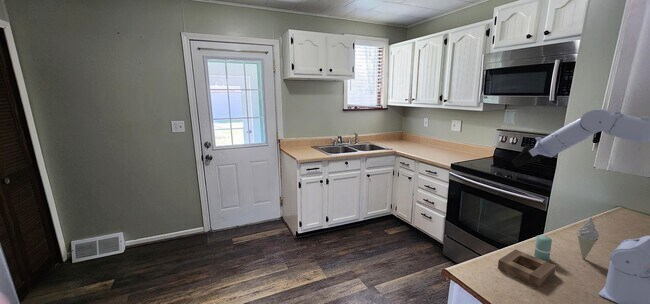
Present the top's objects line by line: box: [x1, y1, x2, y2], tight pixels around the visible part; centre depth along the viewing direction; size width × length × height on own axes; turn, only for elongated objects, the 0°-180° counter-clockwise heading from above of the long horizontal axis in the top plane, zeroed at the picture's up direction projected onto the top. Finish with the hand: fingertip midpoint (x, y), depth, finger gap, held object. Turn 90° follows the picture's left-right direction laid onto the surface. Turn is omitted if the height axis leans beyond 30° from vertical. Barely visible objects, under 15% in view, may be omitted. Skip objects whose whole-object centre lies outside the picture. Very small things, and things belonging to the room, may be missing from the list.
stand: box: [497, 248, 557, 289], centre depth 84 cm, size 11×11×3 cm
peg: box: [533, 234, 553, 262], centre depth 91 cm, size 4×4×7 cm
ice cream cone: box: [576, 217, 600, 260], centre depth 88 cm, size 5×5×15 cm
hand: (519, 162), depth 89 cm, fingers open, 7 cm apart
